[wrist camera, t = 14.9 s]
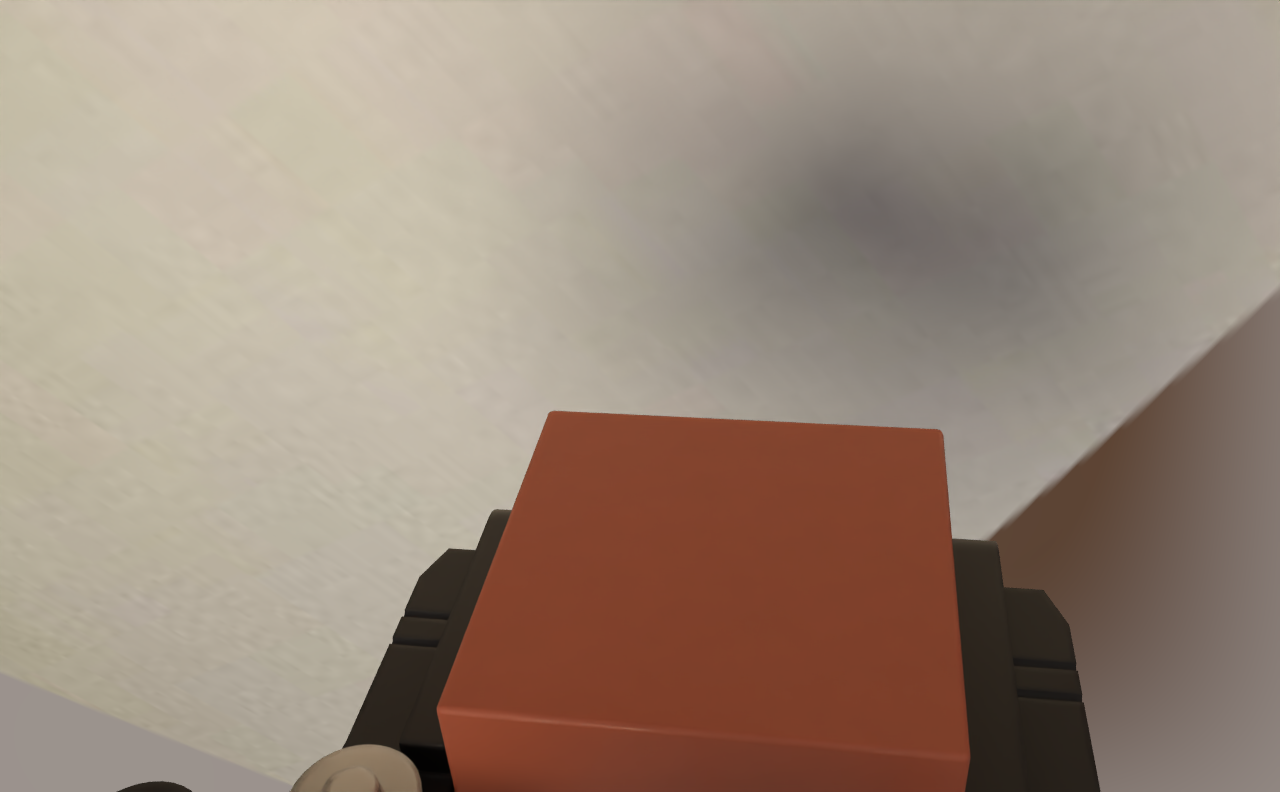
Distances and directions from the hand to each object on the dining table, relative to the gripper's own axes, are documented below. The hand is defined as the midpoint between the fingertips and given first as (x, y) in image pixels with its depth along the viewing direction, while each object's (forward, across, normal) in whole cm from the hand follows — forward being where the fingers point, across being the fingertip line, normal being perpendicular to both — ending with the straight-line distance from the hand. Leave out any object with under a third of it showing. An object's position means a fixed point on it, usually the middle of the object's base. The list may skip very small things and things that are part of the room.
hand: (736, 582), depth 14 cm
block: (0, 0, 0) cm, 0 cm away
